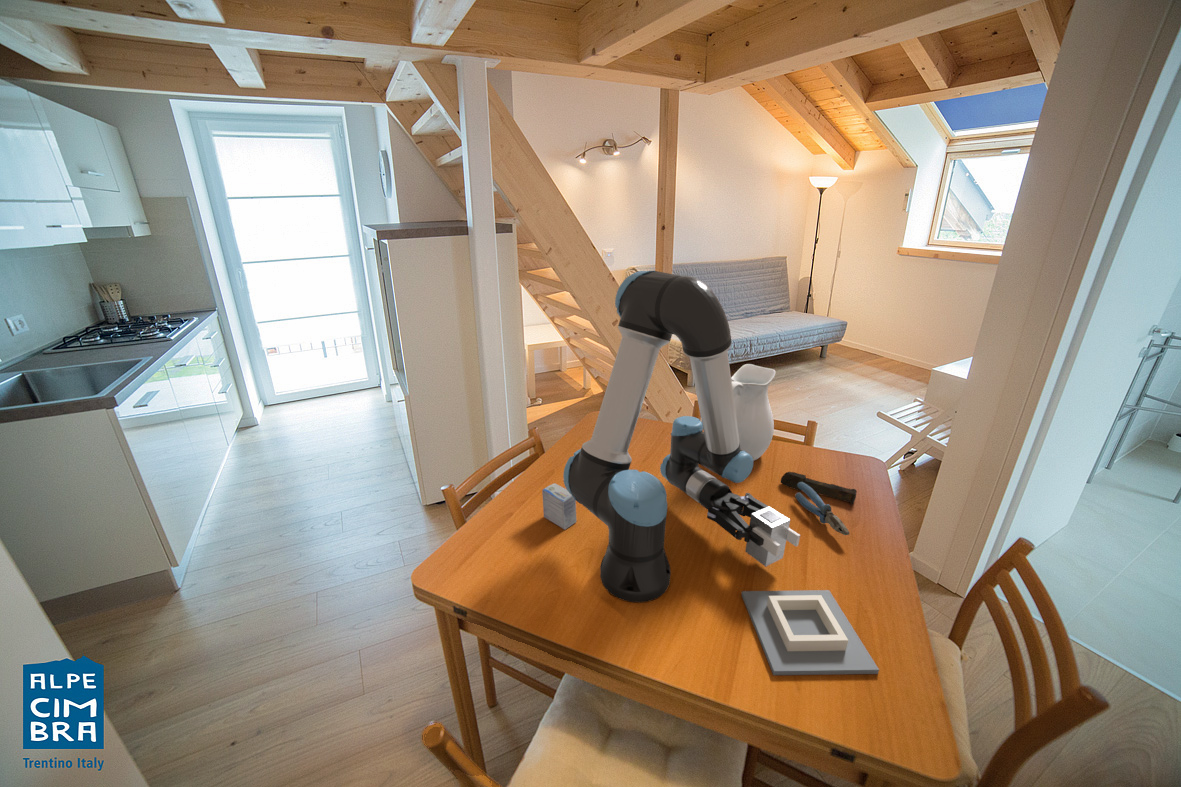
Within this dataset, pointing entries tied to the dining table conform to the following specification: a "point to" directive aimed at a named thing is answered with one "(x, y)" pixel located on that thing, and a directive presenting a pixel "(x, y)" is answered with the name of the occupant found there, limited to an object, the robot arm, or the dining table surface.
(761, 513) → the tall square post
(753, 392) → the pitcher
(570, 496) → the medicine box
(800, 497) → the pliers
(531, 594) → the dining table surface
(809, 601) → the cradle
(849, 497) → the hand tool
